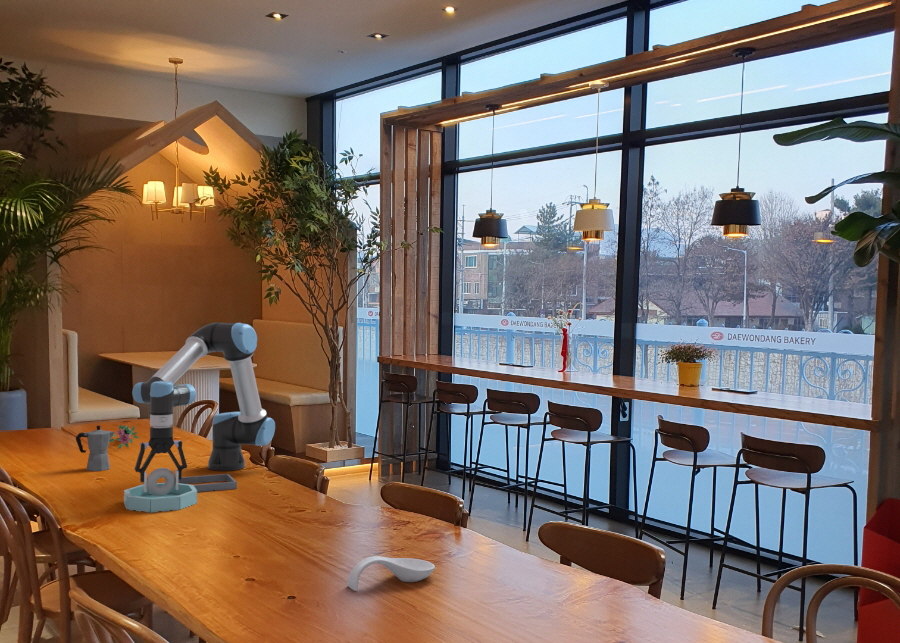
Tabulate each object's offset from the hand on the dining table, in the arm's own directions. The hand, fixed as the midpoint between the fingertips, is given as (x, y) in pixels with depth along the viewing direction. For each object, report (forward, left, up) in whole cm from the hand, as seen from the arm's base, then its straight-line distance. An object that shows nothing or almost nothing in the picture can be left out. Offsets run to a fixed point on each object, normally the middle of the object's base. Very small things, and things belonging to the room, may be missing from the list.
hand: (160, 490), depth 288 cm
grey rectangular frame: (-18, -20, -5) cm, 27 cm away
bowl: (0, 0, -5) cm, 5 cm away
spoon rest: (-44, +105, -5) cm, 113 cm away
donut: (0, 0, -2) cm, 2 cm away
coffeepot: (+17, -67, -5) cm, 69 cm away
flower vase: (+1, -119, -5) cm, 120 cm away
